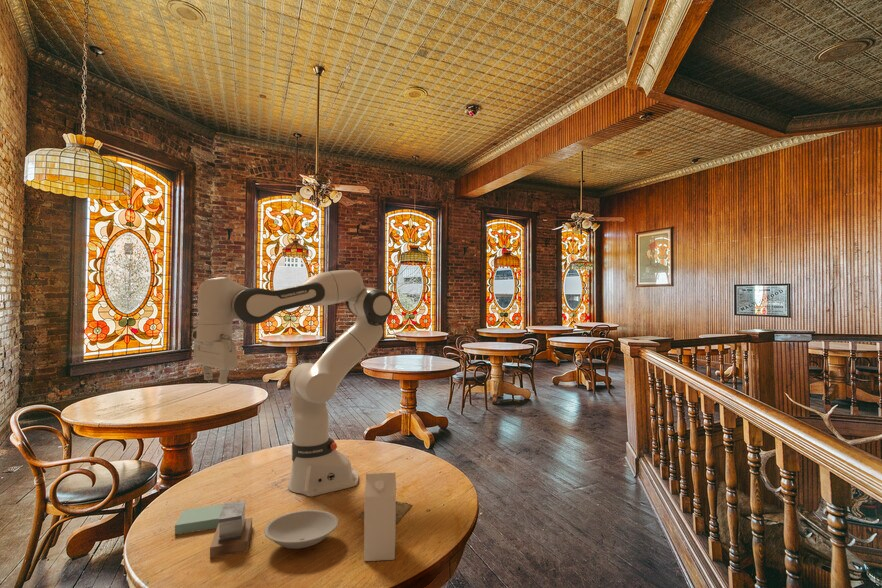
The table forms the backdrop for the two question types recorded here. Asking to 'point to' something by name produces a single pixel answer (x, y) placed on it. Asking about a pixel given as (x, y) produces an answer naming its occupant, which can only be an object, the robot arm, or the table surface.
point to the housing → (232, 521)
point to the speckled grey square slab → (400, 510)
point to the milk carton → (379, 516)
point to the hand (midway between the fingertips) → (215, 381)
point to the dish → (301, 528)
